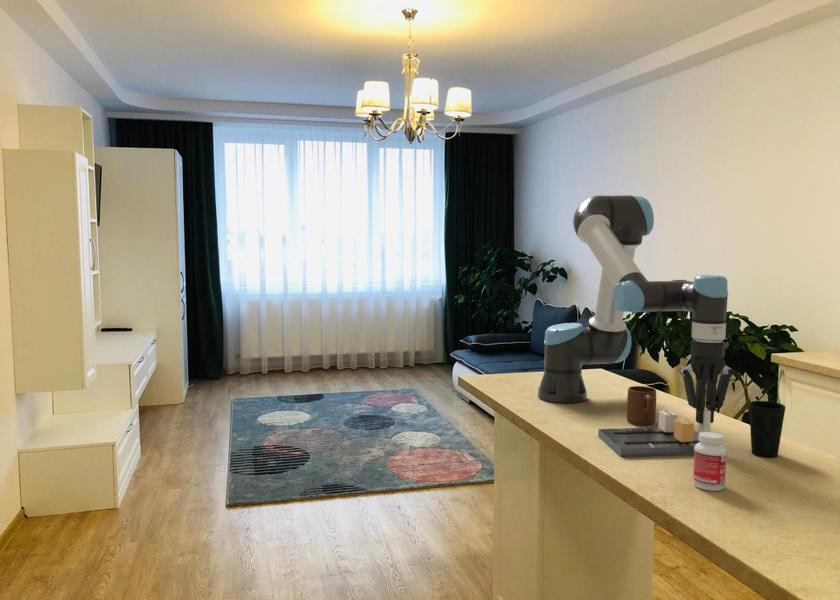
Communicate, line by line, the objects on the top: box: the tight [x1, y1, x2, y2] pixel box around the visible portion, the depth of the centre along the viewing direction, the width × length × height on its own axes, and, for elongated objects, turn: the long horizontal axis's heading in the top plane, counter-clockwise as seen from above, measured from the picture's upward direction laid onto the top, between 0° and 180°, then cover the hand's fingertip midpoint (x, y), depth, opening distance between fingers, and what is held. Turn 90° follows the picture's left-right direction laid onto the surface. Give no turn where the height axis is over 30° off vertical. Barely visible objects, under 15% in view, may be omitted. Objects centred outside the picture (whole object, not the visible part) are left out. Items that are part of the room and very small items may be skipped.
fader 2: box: [674, 418, 695, 442], centre depth 167 cm, size 4×3×4 cm
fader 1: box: [657, 410, 678, 432], centre depth 175 cm, size 4×3×4 cm
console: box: [597, 427, 700, 458], centre depth 171 cm, size 16×24×2 cm, turn 94°
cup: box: [748, 400, 786, 459], centre depth 163 cm, size 8×8×12 cm
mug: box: [626, 385, 657, 426], centre depth 188 cm, size 12×8×9 cm, turn 179°
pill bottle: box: [692, 431, 727, 492], centre depth 143 cm, size 6×6×11 cm
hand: (703, 435), depth 167 cm, fingers closed
